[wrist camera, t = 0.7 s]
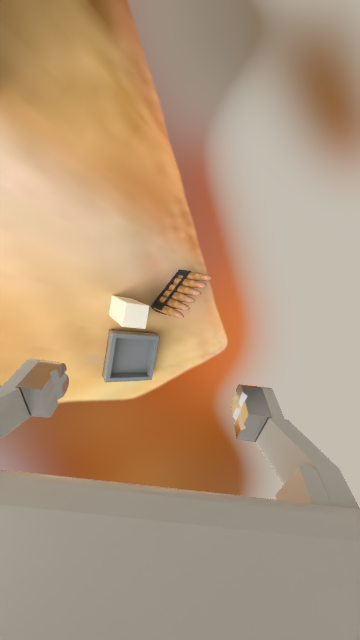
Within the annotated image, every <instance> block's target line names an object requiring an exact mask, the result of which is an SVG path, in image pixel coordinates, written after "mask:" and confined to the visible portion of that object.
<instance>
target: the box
mask: <svg viewBox="0 0 360 640" xmlns="http://www.w3.org/2000/svg"><path fill="white" fill-rule="evenodd" d="M158 342H159V336H158V335H156V334H155V333H148V332H134V331H120V330H109V336H108V342H107V349H106V355H105V362H104V368H103V375H102V376H103V378H104V381H105V382H121V381H140V380H152V375H153V369H154V364H155V359H156V353H157V348H158Z"/></svg>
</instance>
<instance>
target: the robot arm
mask: <svg viewBox="0 0 360 640" xmlns="http://www.w3.org/2000/svg"><path fill="white" fill-rule="evenodd" d="M65 371H66V365H65V364H64V363H59V362H52V361H45V360H37V359H29V360H27V361H26V362H25V363H24V364H23V365H22V366H21V367H20V368H19V369H18V370H17V371H16V372H15V373H14V374H13V375H12V376H11V377H10V378H9V380H8V381H7V382H6V383H5V384H4V385H3V386H0V439H2V438H3V437H4V436H6V435H7V434H8V433H10V432H11V431H12V430H14V429H15V428H16V427H18V426H19V425H20V424H22V423H23V422H24V421H26V420H27V419H28V418H30V416H37V417H48V418H50V417H51V416H52V414H53V412H54V411H55V409H56V408H57V406H58V401H57V400H58V399H60V398H61V397H63V396H64V394H65V393H66V391H67V388H68V385H69V378H68V376H67V375H66V374H65V373H64V372H65ZM236 391H237V394H236V395H235V396H234V397H233V400H232V406H231V407H232V415H233V417H234V418H235V420H236V422H235V424H234V427H235V432H236V438H237V439H239V440H245V441H252V442H255V443H256V445H257V446H258V448H259V449H260V450H261V452H262V453H263V455H264V456H265V458H266V459H267V460H268V462H269V463H270V465H271V466H272V468H273V469H274V470H275V472H276V473H277V475H278V476H279V477H280V479H281V480H282V482H283V483H284V486H283V487H282V488H281V489H280V490H279V492H278V493H277V494H276V499H277V500H274V499H264V498H256V497H246V496H237V495H228V494H219V493H209V492H201V491H191V490H182V489H173V488H164V487H154V486H145V485H136V484H127V483H117V482H109V481H99V480H90V479H81V478H71V477H63V476H53V475H44V474H35V473H25V472H17V471H7V470H0V640H360V508H359V506H358V504H357V502H356V501H355V498H354V496H353V495H352V493H351V491H350V489H349V487H348V485H347V483H346V481H345V479H344V477H343V475H342V473H341V471H340V470H339V468H338V467H337V466H336V465H335V464H334V463H333V462H331V460H330V459H329V458H327V457H326V456H325V455H324V454H323V453H322V452H321V451H320V450H319V449H318V448H317V447H316V446H315V445H314V444H313V443H312V442H311V441H310V440H309V439H308V438H307V437H305V436H304V435H303V434H302V433H301V432H300V431H299V430H298V429H297V428H296V427H295V426H294V425H293V424H292V423H291V422H290V421H289V420H286V419H284V416H283V414H282V411H281V409H280V407H279V404H278V402H277V399H276V397H275V394H274V392H273V390H272V389H271V388H265V387H257V386H248V385H240V384H239V385H238V387H237V389H236Z"/></svg>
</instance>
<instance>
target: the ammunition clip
mask: <svg viewBox="0 0 360 640" xmlns="http://www.w3.org/2000/svg"><path fill="white" fill-rule="evenodd" d="M211 279H212V277H211V276H209V275H205V274H200V273H193V272H191V271H186V270H178V272H177V273H176V274H175V276H174V277H173V278H172V280H171V281H170V282H169V283H168V285H167V286H166V287H165V289H164V290H163V291H162V293H161V294H160V295H159V296H158V298H157V299H156V300H155V302H154V303H153V304H152V306H151V307H152V308H153V309H154V310H155V311H156V312H159V313H162V314H166V315H169V316H174V317H177V318H183V317H184V315H183V314H182V313H181V312H179V311H177V310H175V309H181V310H189V309H190V308H189V307H188V306H187V305H185V304H183V303H181V302H188V303H193V302H195V300H194V299H193V298H192V297H190V296H187V295H200V294H201V293H200V291H198V290H196V289H192V288H204V287H206V284H205V283H203V282H198V281H207V280H211ZM179 301H180V302H179ZM174 308H175V309H174Z"/></svg>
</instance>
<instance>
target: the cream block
mask: <svg viewBox="0 0 360 640" xmlns="http://www.w3.org/2000/svg"><path fill="white" fill-rule="evenodd" d="M148 312H149V306H148V305H146V304H144V303H141V302H139V301H137V300H134V299H132V298H126V297H119V296H113V295H112V299H111V306H110V312H109V315H110V316H111V317H112V318H113V319H114V320H115V321H116V322H117V323H119V324H120V325H121V326H122V327H129V328H142V329H146V323H147V317H148Z"/></svg>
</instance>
